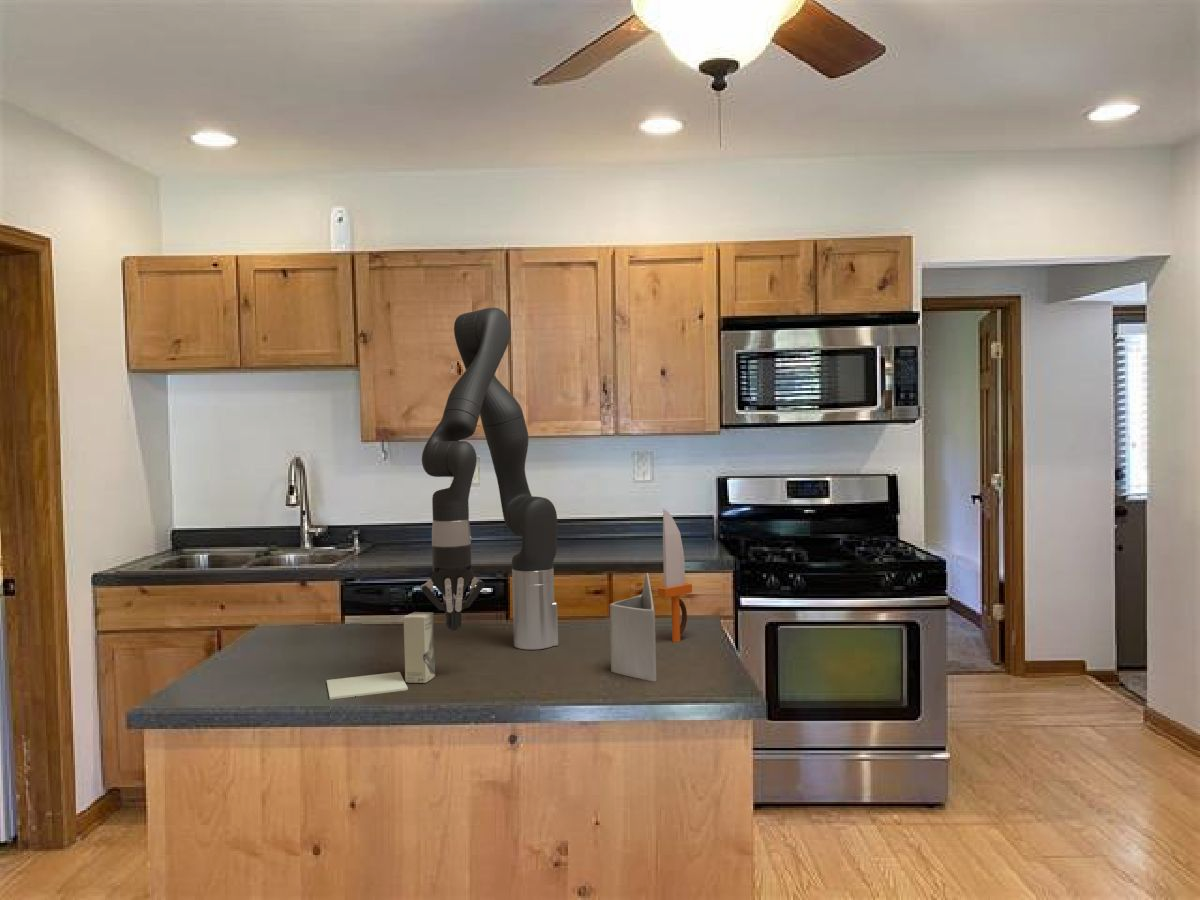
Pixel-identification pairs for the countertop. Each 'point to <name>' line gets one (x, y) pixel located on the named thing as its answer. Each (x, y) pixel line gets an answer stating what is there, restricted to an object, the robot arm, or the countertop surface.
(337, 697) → the sage mat
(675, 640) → the knife
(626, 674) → the planter
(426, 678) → the box
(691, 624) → the countertop surface
